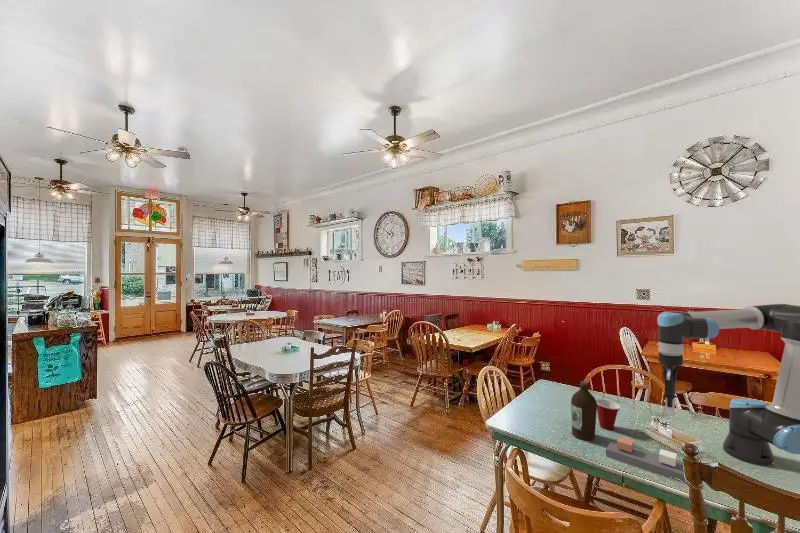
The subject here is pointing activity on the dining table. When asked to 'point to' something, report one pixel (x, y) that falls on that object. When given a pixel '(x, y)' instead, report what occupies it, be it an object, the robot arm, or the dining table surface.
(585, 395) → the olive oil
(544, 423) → the dining table surface
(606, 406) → the plastic cup
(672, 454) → the white key
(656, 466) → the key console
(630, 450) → the salmon pink block
